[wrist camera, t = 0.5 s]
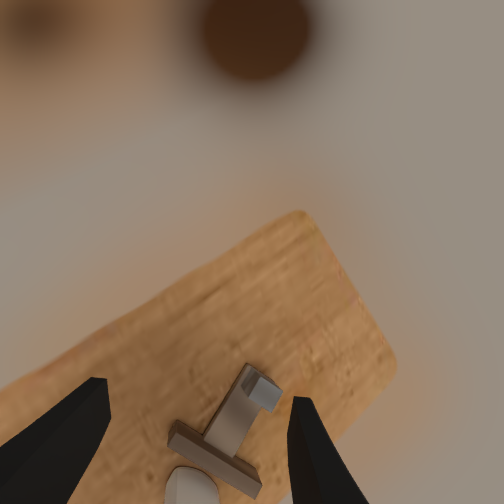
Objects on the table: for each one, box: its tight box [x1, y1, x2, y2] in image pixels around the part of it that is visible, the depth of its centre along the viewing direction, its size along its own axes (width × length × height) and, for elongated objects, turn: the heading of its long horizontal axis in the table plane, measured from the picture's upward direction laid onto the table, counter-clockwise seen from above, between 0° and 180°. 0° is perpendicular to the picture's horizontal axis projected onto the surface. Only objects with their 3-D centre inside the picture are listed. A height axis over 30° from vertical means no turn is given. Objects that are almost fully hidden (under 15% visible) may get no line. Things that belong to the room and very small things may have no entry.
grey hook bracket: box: [167, 363, 283, 499], centre depth 31 cm, size 11×11×5 cm
